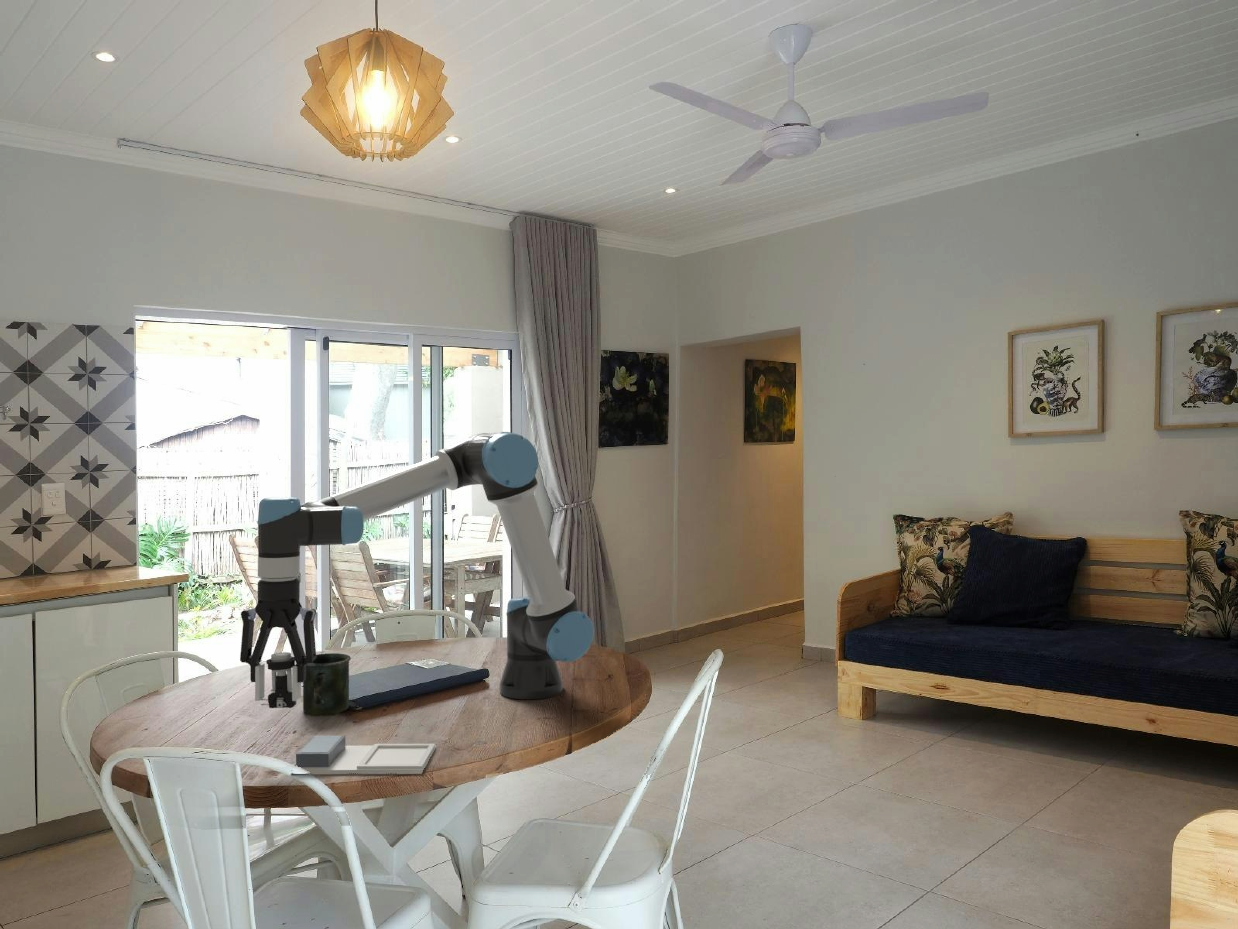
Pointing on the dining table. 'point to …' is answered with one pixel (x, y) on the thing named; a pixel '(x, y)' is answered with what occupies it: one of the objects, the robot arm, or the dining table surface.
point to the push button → (281, 680)
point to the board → (379, 759)
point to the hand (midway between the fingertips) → (278, 698)
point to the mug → (326, 685)
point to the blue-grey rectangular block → (320, 751)
